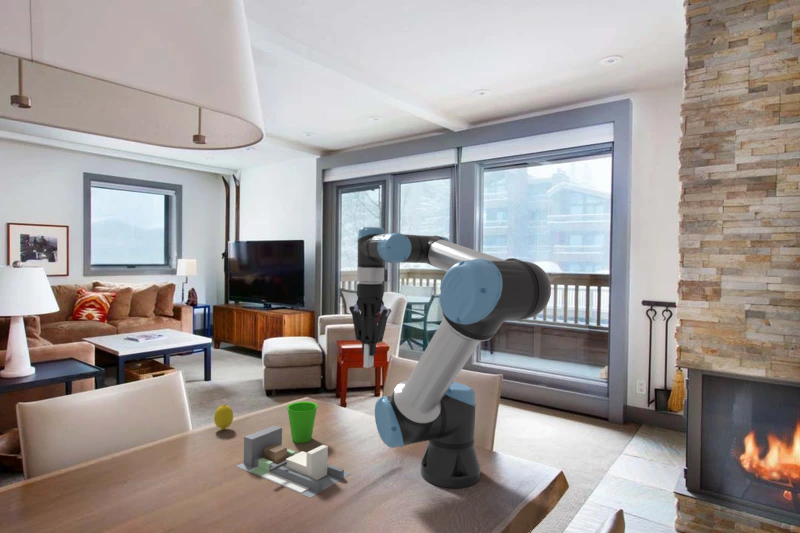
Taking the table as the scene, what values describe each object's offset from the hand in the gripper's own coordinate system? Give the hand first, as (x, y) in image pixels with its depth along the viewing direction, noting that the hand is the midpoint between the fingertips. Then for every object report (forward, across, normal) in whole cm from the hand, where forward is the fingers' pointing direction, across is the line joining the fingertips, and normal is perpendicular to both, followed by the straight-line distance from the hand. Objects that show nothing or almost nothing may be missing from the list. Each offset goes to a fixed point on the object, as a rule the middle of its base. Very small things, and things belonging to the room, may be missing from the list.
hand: (368, 366), depth 128 cm
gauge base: (+24, +8, +21) cm, 33 cm away
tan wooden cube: (+23, +14, +21) cm, 34 cm away
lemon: (+25, +46, +12) cm, 54 cm away
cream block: (+23, +3, +24) cm, 33 cm away
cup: (+25, +19, +6) cm, 32 cm away
